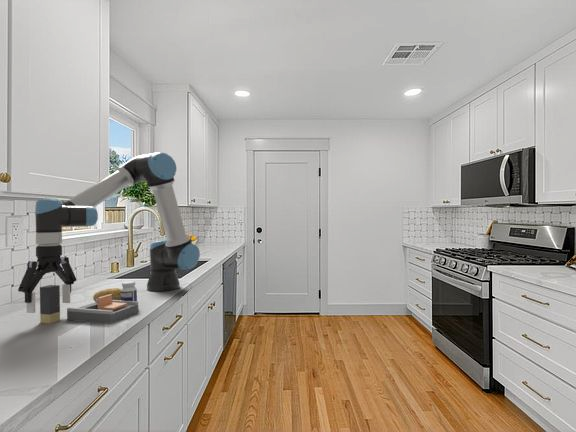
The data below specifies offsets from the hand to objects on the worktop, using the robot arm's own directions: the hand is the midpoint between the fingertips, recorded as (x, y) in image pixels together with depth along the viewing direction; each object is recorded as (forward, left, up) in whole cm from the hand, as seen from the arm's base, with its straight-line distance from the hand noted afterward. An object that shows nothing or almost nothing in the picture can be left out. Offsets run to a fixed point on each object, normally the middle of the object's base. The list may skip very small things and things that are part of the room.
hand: (49, 307), depth 127 cm
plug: (0, 0, -5) cm, 5 cm away
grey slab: (-10, +13, -5) cm, 17 cm away
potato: (-25, +2, -5) cm, 26 cm away
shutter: (-10, +17, -2) cm, 19 cm away
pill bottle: (-22, +14, -5) cm, 27 cm away
